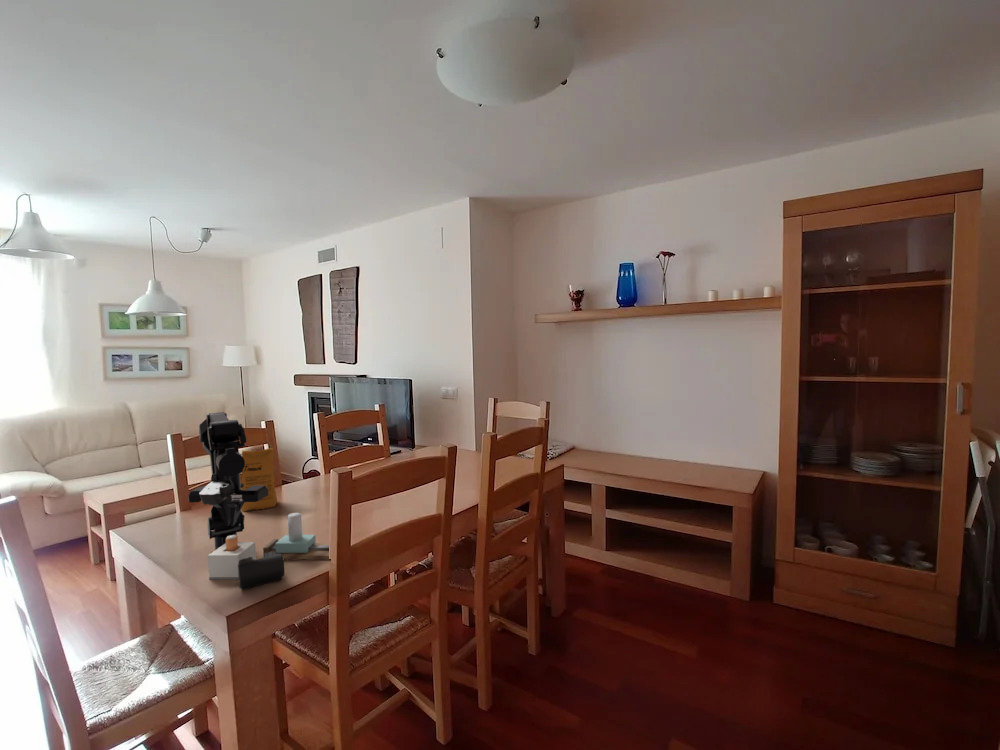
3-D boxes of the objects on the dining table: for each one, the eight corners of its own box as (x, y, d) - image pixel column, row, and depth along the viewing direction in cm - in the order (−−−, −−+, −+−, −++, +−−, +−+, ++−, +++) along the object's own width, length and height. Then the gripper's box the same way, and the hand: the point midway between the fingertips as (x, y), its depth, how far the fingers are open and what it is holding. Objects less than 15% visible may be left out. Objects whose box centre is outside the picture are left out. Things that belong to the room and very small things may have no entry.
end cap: (241, 595, 113) (239, 569, 112) (237, 583, 118) (236, 558, 118) (285, 582, 119) (284, 557, 118) (280, 572, 124) (278, 547, 124)
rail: (261, 559, 131) (261, 549, 131) (276, 547, 139) (275, 537, 139) (335, 559, 131) (335, 549, 130) (346, 547, 139) (345, 537, 138)
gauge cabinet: (209, 579, 121) (207, 555, 120) (228, 564, 129) (227, 542, 128) (239, 579, 120) (237, 555, 120) (256, 564, 128) (255, 541, 128)
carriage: (275, 552, 132) (273, 518, 131) (286, 543, 138) (284, 511, 137) (306, 552, 132) (304, 518, 131) (315, 543, 138) (314, 511, 137)
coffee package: (243, 504, 178) (240, 448, 177) (278, 500, 182) (275, 445, 181) (238, 513, 169) (234, 454, 167) (275, 508, 173) (272, 450, 172)
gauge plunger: (223, 551, 123) (223, 538, 123) (230, 546, 126) (229, 534, 125) (234, 551, 123) (233, 538, 122) (240, 546, 126) (239, 534, 125)
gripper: (170, 476, 115) (174, 537, 116) (243, 476, 114) (247, 537, 115) (201, 465, 126) (204, 520, 127) (267, 464, 125) (271, 520, 126)
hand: (230, 525), depth 124 cm, fingers closed
